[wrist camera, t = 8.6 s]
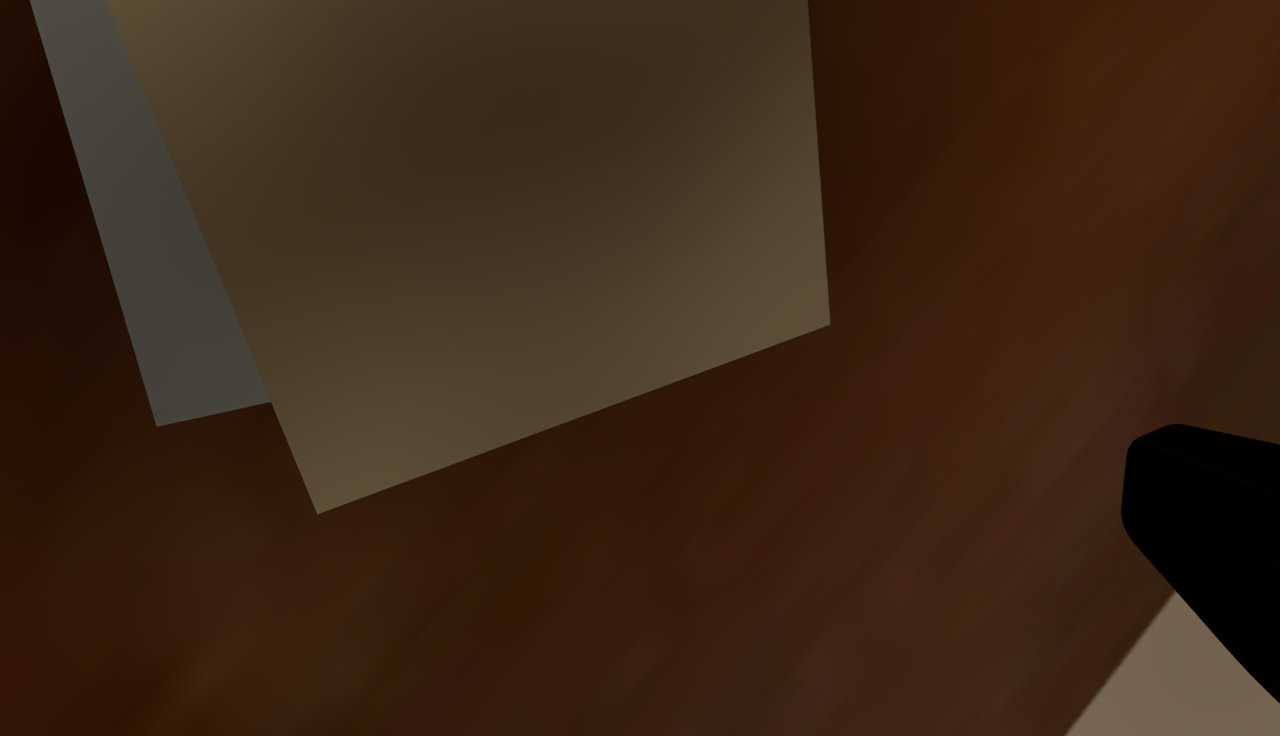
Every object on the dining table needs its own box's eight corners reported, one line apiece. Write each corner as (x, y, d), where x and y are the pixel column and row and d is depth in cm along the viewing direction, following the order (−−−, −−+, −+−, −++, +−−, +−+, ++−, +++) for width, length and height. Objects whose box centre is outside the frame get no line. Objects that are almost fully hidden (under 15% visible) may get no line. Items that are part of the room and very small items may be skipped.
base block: (640, 220, 21) (733, 300, 18) (150, 311, 18) (156, 426, 15) (621, -323, 17) (741, -347, 14) (-29, -316, 14) (-73, -344, 11)
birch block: (657, 189, 16) (830, 324, 12) (264, 313, 15) (317, 514, 11) (586, -260, 13) (788, -273, 9) (77, -160, 12) (54, -123, 8)
